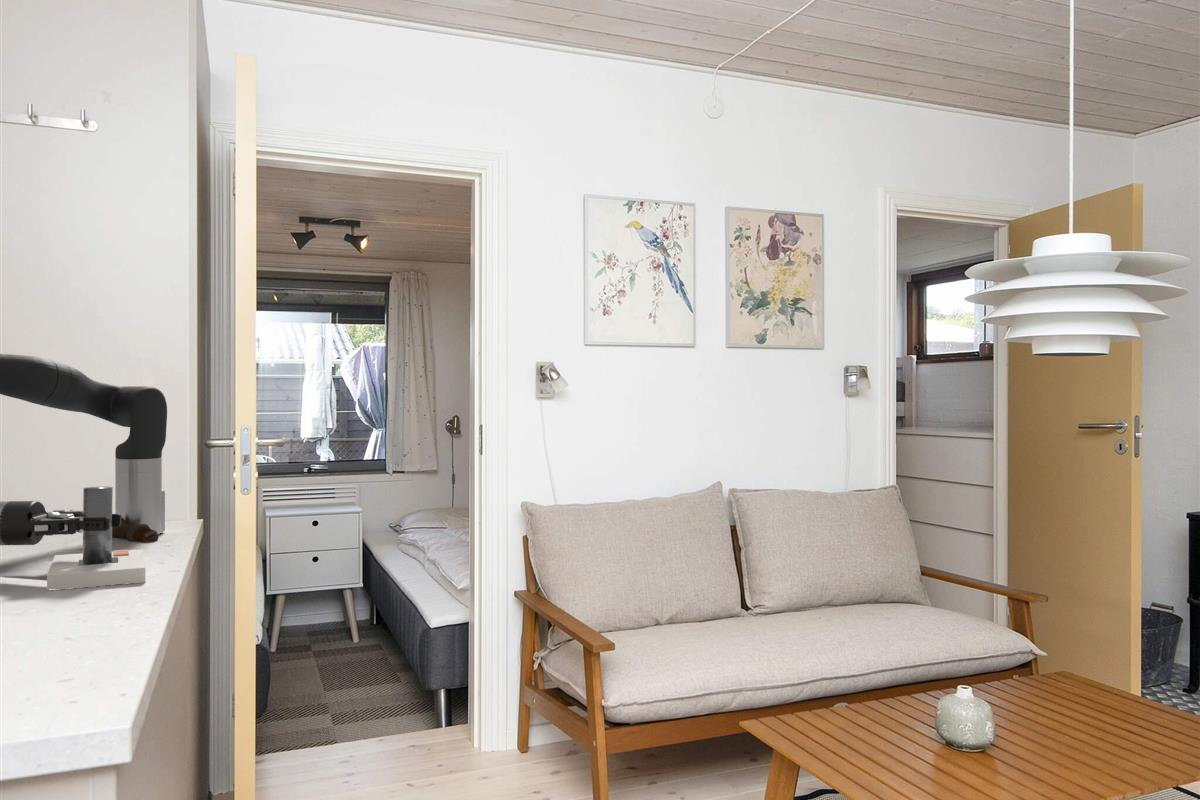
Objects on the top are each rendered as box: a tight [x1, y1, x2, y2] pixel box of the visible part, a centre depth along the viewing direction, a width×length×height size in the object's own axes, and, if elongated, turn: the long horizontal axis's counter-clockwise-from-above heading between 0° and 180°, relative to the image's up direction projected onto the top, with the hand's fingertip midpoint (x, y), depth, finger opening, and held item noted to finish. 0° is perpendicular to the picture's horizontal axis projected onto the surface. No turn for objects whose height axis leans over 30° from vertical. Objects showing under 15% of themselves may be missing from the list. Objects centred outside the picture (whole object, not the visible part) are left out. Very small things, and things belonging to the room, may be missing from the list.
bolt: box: [112, 517, 159, 543], centre depth 187 cm, size 6×5×15 cm
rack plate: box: [46, 548, 146, 591], centre depth 153 cm, size 20×14×3 cm
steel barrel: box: [82, 486, 114, 565], centre depth 153 cm, size 4×4×13 cm
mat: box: [46, 549, 83, 562], centre depth 168 cm, size 10×10×1 cm
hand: (114, 522), depth 154 cm, fingers closed on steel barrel, 4 cm apart
